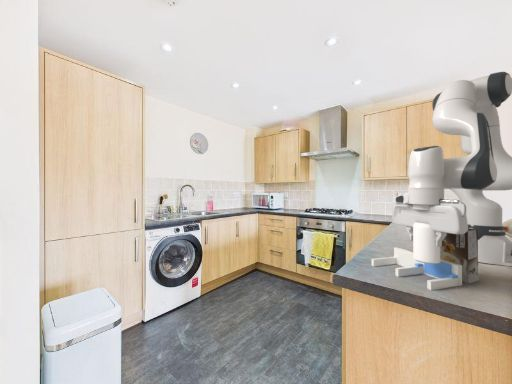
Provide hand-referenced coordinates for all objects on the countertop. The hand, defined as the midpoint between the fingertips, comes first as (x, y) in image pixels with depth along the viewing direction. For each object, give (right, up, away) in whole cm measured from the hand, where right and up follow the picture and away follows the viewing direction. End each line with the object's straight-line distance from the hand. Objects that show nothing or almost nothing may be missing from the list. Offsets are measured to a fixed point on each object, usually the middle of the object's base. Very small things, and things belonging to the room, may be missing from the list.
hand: (424, 243), depth 66 cm
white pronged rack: (0, -12, +5) cm, 13 cm away
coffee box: (+12, -12, +3) cm, 17 cm away
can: (0, -5, -1) cm, 5 cm away
